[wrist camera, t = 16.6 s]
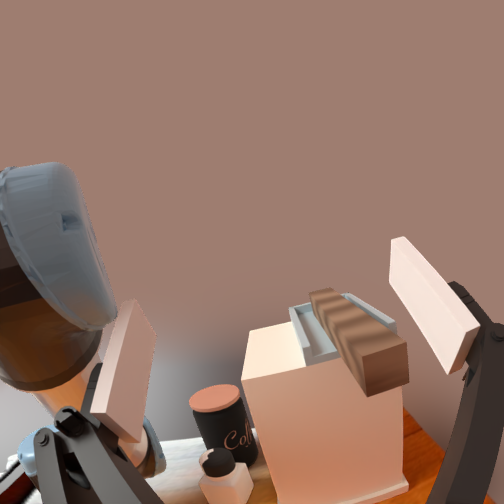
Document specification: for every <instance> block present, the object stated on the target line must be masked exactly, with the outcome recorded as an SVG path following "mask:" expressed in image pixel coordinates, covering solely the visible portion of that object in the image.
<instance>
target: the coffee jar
mask: <svg viewBox="0 0 504 504" xmlns="http://www.w3.org/2000/svg"><path fill="white" fill-rule="evenodd" d="M239 396H240V393H239V389H238V388H237V387H236V386H233V385H226V384H223V385H215V386H211V387H208V388H205V389H202V390H200V391H198V392H197V393H196V394H194V395H193V396H192V397H191V398H190V400H189V404H190V406H191V408H192V409H193V415H194V418H195V420H196V423H197V426H198V428H199V431H200V433H201V435H202V438H203V441H204V443H205V445H206V448H207V450H210V449H213V448H225V449H227V450H229V451H230V452H231V453H232V455H233V458H234V461H235V463H245V464H246V466H247V467H249V466H250V465H252V464H253V463H254V461H255V460H256V458H257V455H258V449H257V445H256V442H255V439H254V436H253V433H252V430H251V427H250V423H249V420H248V417H247V414H246V411H245V407H244V404H243V401H242V399H241V397H239Z"/></svg>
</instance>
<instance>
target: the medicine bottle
mask: <svg viewBox="0 0 504 504" xmlns="http://www.w3.org/2000/svg"><path fill="white" fill-rule="evenodd" d="M199 463H200V465H201V467H202V470H203V472H204V475H203V477H202V478H201V480H200V481H199V483H198V484H199V486H200V488H201V490H202V492H203V494H204V495H205V497H206V499H207V501H208V503H209V504H246V503H247V501H248V498H249V496H250V494H251V492H252V489H253V487H254V484H253V482H252V479H251V476H250V474H249V471H248V469H247V466H246V464H245V463H235V461H234V458H233V455H232V453H231V452H230V451H229V450H227V449H225V448H213V449H210V450H208V451H206V452H204V453H203V454H202V455H201V457H200V459H199Z"/></svg>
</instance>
